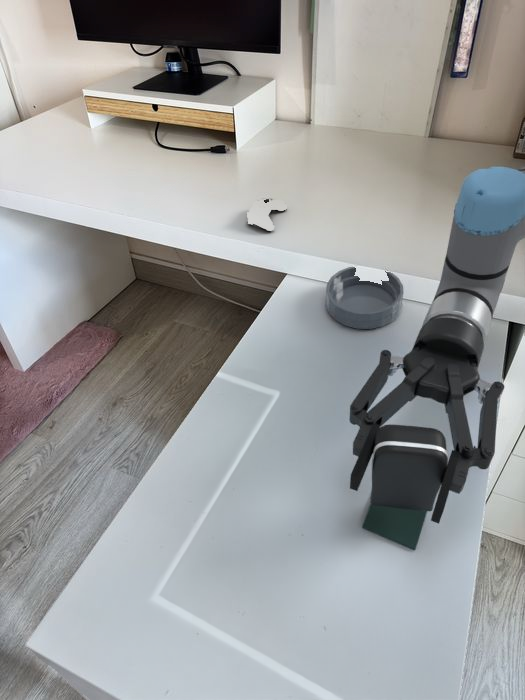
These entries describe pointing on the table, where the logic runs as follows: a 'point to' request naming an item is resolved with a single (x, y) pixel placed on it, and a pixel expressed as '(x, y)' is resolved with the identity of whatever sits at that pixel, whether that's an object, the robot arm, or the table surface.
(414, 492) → the battery charger
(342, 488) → the table surface
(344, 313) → the bowl
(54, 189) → the table surface
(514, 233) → the robot arm
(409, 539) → the mat
